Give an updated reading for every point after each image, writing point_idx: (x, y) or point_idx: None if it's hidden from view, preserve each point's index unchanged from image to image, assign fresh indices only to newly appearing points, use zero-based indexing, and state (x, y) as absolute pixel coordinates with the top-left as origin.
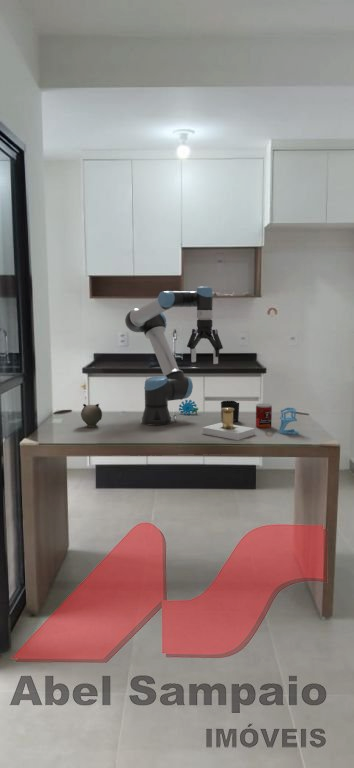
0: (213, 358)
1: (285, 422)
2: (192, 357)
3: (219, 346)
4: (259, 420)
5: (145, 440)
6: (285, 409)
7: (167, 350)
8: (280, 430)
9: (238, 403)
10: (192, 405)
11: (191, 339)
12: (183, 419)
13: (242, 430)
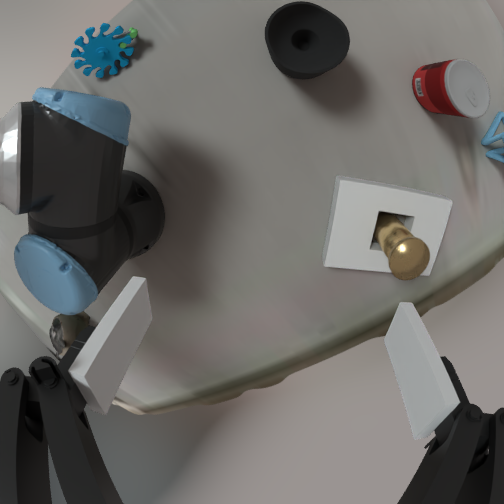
0: (396, 375)
1: None
2: (136, 348)
3: (482, 457)
4: (441, 112)
5: (244, 359)
6: None
7: None
8: (487, 144)
9: (348, 36)
10: (110, 38)
11: (48, 496)
12: (153, 125)
13: (432, 242)
